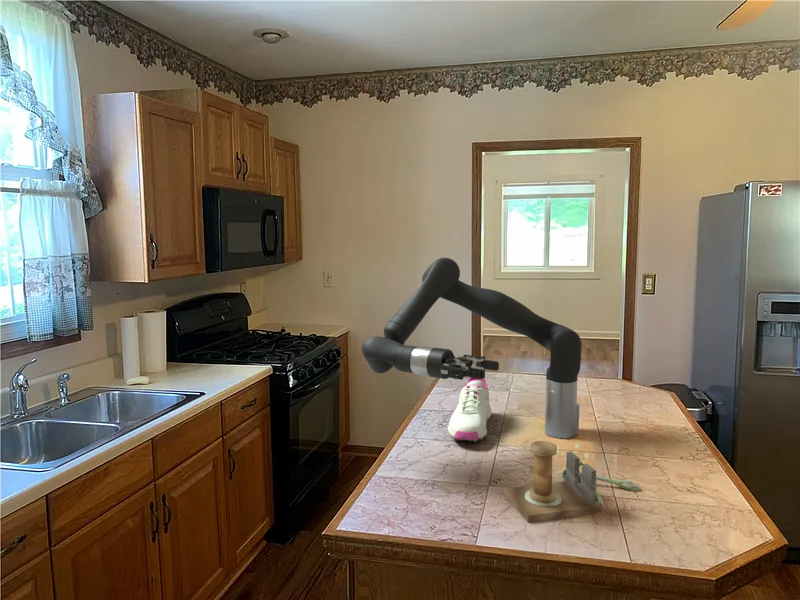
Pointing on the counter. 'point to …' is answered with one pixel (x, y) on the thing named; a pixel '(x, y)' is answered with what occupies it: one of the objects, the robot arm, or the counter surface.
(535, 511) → the board
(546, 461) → the bobbin
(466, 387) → the golf shoe
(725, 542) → the counter surface
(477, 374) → the robot arm
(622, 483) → the plant
